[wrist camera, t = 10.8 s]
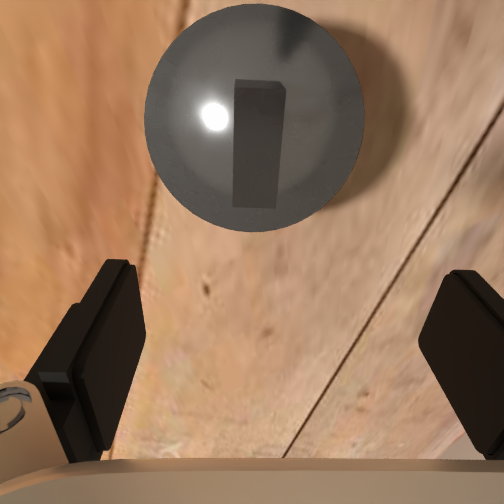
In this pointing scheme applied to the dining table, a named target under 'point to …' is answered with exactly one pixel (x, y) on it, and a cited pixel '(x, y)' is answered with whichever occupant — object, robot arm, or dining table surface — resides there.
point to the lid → (254, 117)
